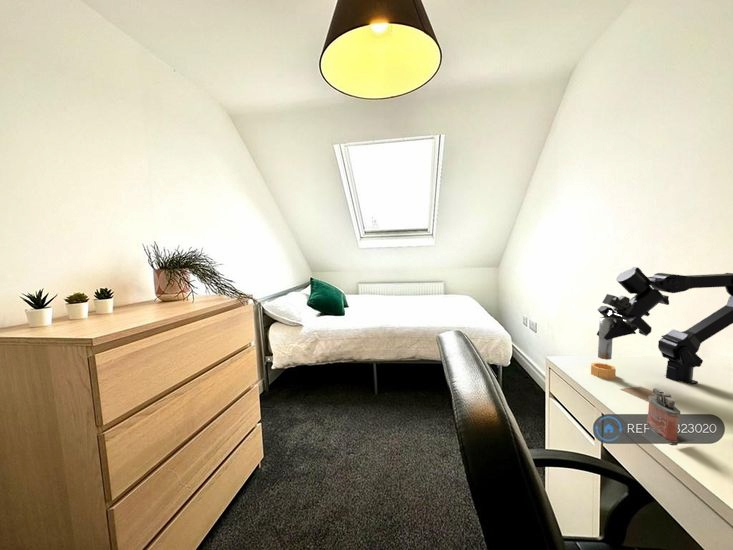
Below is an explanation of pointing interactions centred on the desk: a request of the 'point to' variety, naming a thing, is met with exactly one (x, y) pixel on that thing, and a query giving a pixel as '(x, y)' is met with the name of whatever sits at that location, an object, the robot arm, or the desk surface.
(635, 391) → the board
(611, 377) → the socket plate
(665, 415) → the lighter
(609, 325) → the steel peg
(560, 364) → the desk surface
